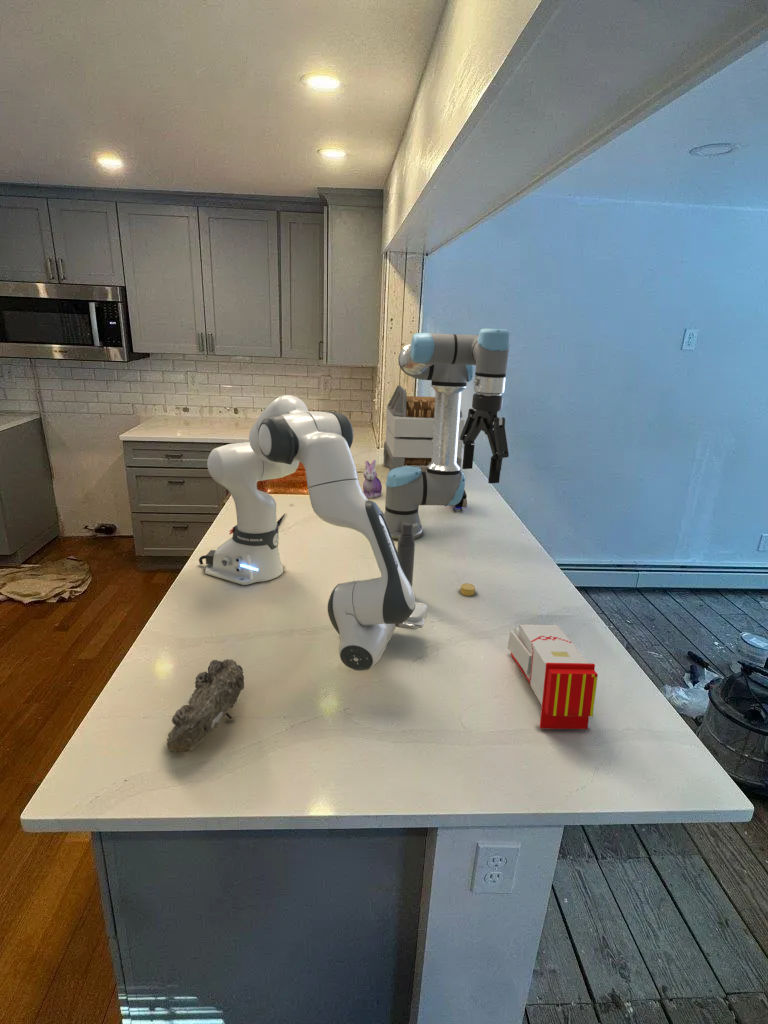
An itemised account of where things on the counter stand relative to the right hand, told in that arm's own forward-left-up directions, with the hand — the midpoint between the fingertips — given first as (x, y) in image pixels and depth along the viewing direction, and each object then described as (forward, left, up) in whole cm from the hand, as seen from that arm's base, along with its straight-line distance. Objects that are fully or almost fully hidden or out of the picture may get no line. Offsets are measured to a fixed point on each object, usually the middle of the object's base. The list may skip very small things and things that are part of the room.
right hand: (479, 475), depth 149 cm
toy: (+38, -19, -34) cm, 55 cm away
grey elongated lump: (+5, -78, -34) cm, 86 cm away
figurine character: (-52, +52, -34) cm, 81 cm away
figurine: (-83, +33, -34) cm, 96 cm away
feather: (-81, -11, -34) cm, 89 cm away
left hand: (-2, -27, -28) cm, 38 cm away
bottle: (-9, -16, -34) cm, 39 cm away
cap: (0, 0, -33) cm, 33 cm away
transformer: (-97, +74, -34) cm, 127 cm away
